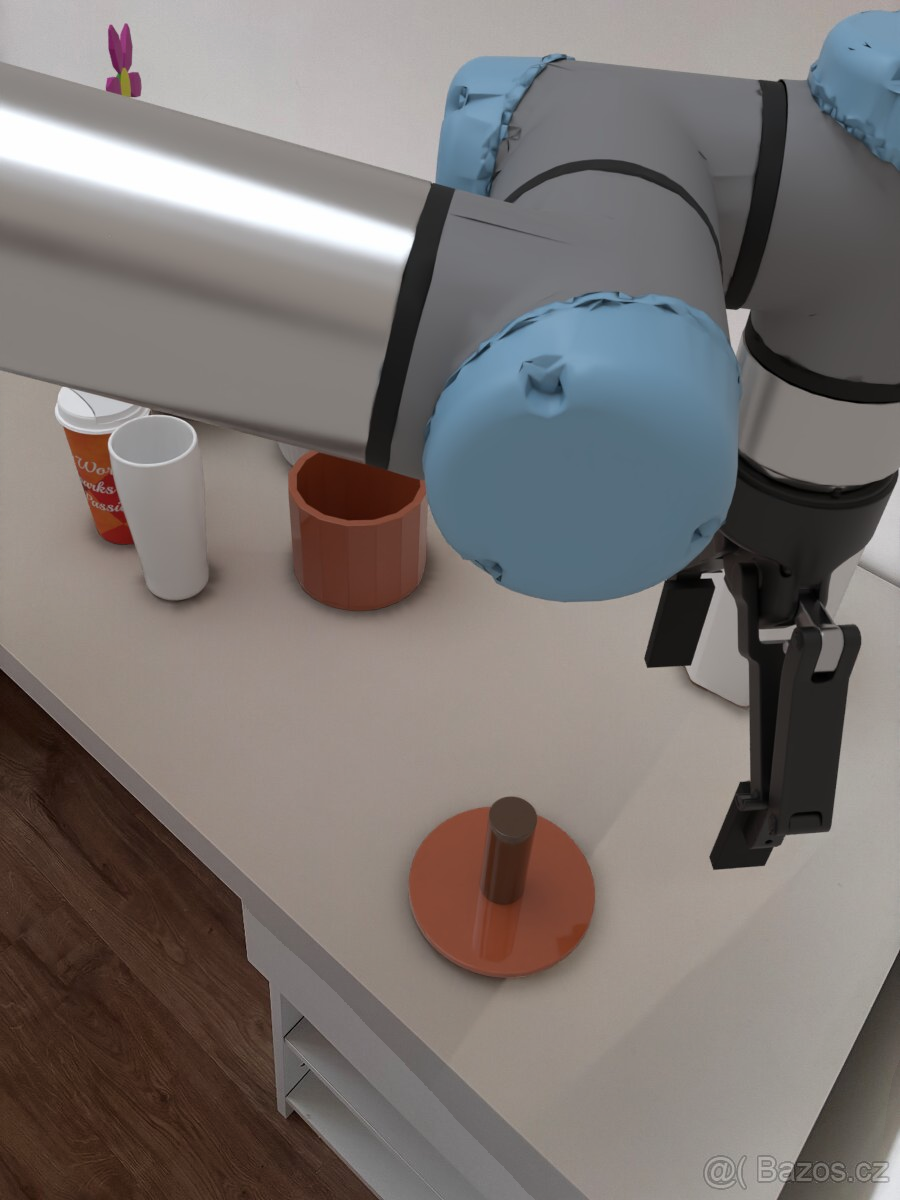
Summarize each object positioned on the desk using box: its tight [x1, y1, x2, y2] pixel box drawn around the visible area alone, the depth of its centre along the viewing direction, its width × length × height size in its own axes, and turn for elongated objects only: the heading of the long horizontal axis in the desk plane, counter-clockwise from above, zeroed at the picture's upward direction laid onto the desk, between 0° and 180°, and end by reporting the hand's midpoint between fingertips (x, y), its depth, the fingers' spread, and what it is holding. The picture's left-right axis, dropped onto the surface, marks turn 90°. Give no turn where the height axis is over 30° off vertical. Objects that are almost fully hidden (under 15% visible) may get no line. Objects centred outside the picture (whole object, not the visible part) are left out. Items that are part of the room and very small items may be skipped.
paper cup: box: [54, 386, 152, 545], centre depth 91 cm, size 8×8×14 cm
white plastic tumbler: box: [108, 414, 210, 601], centre depth 85 cm, size 7×7×15 cm
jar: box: [287, 450, 429, 612], centre depth 90 cm, size 11×11×10 cm
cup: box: [684, 545, 867, 707], centre depth 81 cm, size 11×11×18 cm
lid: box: [408, 795, 596, 979], centre depth 68 cm, size 12×12×9 cm
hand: (699, 754), depth 59 cm, fingers open, 13 cm apart
